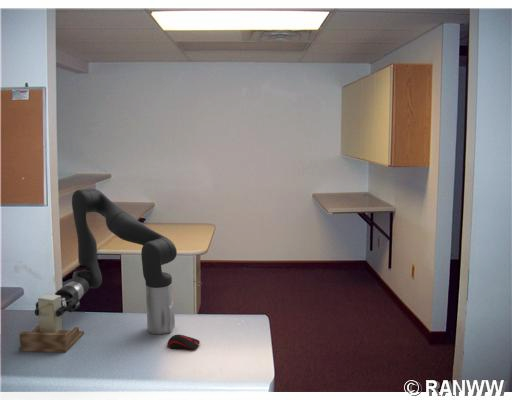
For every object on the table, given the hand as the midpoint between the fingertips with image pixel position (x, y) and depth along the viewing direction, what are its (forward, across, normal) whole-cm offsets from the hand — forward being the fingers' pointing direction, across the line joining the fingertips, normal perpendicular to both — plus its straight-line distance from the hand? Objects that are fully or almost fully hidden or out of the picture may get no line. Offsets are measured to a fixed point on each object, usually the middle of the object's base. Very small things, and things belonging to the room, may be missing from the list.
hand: (46, 313), depth 167 cm
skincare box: (-2, 0, +7) cm, 8 cm away
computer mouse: (-3, +45, +12) cm, 47 cm away
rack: (-2, 0, +11) cm, 11 cm away
